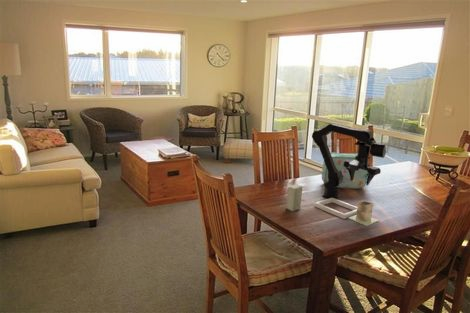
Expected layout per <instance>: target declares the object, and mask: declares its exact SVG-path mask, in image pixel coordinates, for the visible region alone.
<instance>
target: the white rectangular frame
mask: <svg viewBox="0 0 470 313" xmlns="http://www.w3.org/2000/svg"><path fill="white" fill-rule="evenodd" d="M330 203H334V204H336V205H338V206H341V207H344V208H347V209H349V210H350V211H348V212H345V213H343V212H341V211H338V210H336V209H334V208H331V207H329V206H326V205H328V204H330ZM314 207H315V208H318V209H320V210H322V211H325V212H327V213H329V214H332V215H333V216H336V217H339V218H341V219H344V220H346V219H348V218H349V217H351V216H354V215H356V214H357V207H358V206H355V205H353V204H351V203H347V202H346V201H343V200H340V199H338V198H337V199H335V198H329V199H328V198H326V199H322V200H320V201H316V202H314Z"/></svg>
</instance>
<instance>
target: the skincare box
mask: <svg viewBox="0 0 470 313" xmlns="http://www.w3.org/2000/svg"><path fill="white" fill-rule="evenodd" d="M302 193H303V185H299V184H297V183H295V184H291V185H288V186H287V197H286V209H287V210H288V211H292V212H294V211H298V210H301V205H302Z"/></svg>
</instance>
